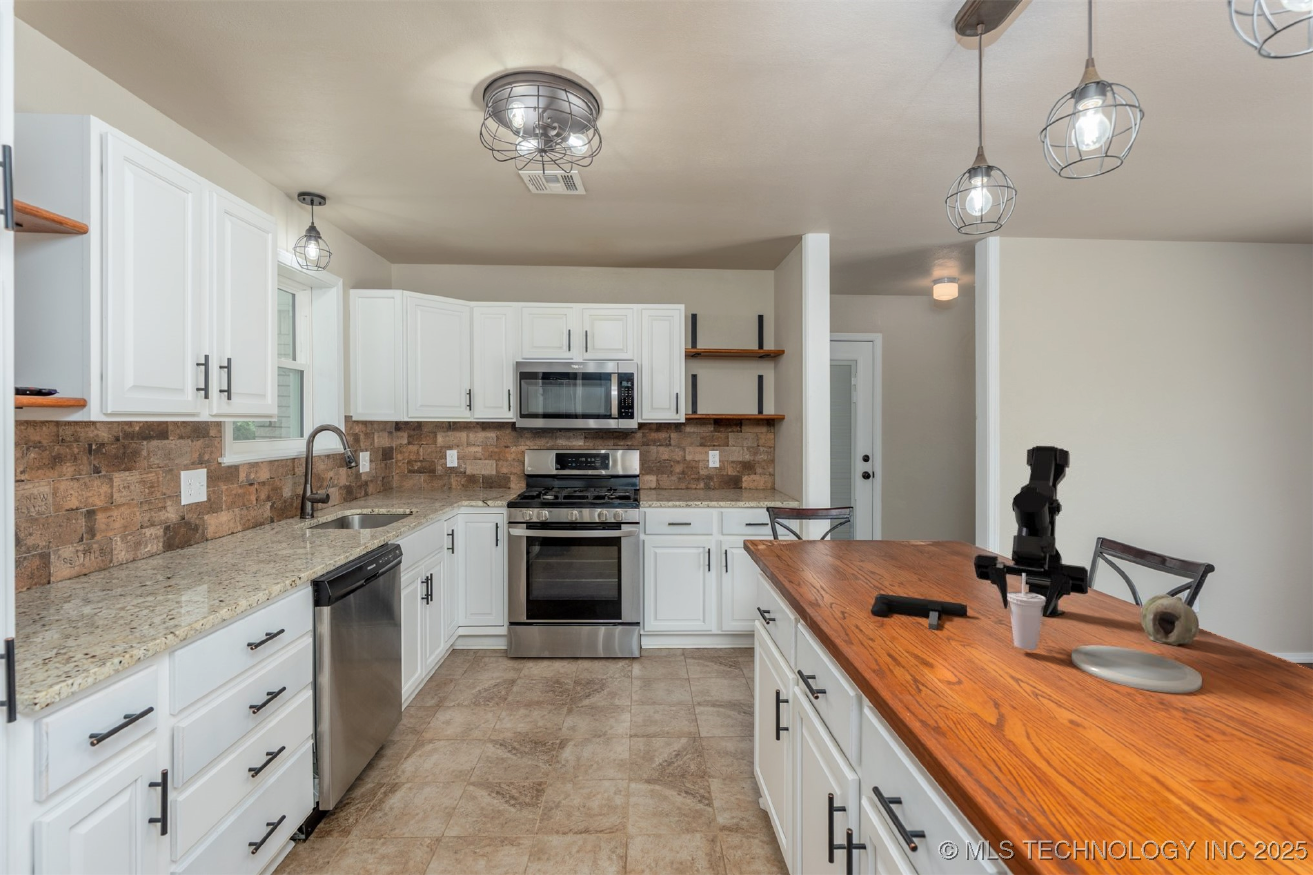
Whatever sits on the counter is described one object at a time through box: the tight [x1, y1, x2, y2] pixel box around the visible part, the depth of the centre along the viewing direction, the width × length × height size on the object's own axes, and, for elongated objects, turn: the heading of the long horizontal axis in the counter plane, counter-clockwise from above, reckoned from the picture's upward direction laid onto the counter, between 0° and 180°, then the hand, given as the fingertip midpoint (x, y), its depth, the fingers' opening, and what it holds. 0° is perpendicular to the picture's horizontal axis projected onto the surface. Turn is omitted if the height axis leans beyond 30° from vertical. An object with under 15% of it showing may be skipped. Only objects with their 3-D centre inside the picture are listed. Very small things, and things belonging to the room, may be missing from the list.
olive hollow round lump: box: [1140, 593, 1200, 646], centre depth 121 cm, size 9×8×10 cm
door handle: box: [870, 593, 968, 631], centre depth 135 cm, size 3×20×16 cm
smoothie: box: [1007, 573, 1046, 651], centre depth 113 cm, size 6×6×14 cm
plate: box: [1071, 644, 1203, 694], centre depth 106 cm, size 18×18×1 cm
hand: (1025, 610), depth 112 cm, fingers closed on smoothie, 6 cm apart
